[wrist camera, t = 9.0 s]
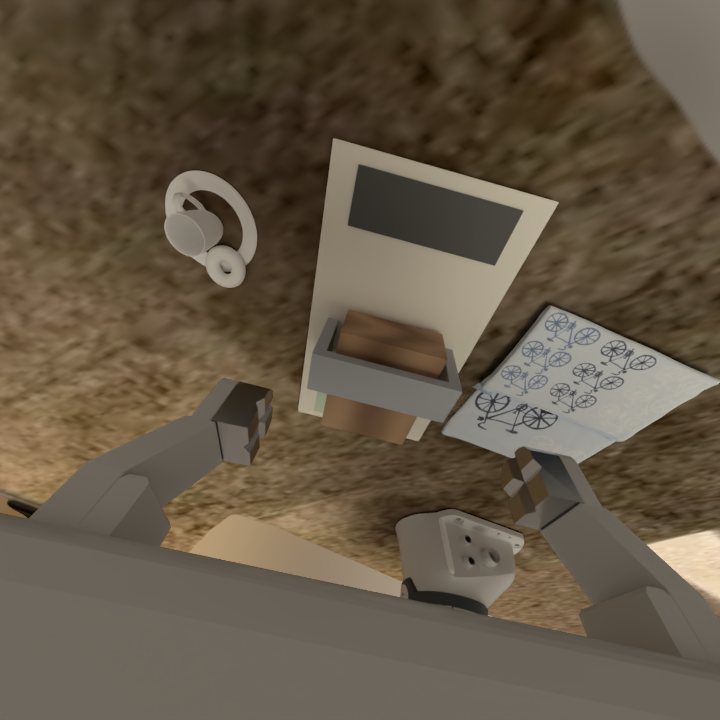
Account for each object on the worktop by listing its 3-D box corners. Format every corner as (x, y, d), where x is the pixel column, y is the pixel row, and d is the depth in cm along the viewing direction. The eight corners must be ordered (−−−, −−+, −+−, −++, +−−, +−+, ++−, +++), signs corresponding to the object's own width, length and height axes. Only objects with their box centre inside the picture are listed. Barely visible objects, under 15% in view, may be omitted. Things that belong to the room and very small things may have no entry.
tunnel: (452, 349, 27) (462, 392, 23) (436, 379, 30) (442, 423, 25) (328, 317, 27) (312, 353, 22) (322, 350, 30) (306, 388, 25)
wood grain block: (442, 334, 26) (447, 360, 23) (402, 417, 33) (402, 445, 30) (348, 309, 26) (340, 332, 23) (328, 398, 33) (320, 425, 30)
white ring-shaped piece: (255, 288, 28) (235, 307, 25) (175, 261, 27) (144, 276, 24) (263, 190, 23) (239, 197, 19) (163, 154, 22) (121, 155, 19)
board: (552, 200, 20) (559, 202, 19) (418, 435, 37) (418, 442, 36) (336, 138, 20) (332, 137, 19) (300, 405, 37) (297, 412, 36)
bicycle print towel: (712, 372, 27) (733, 387, 25) (551, 472, 39) (558, 487, 37) (547, 294, 25) (557, 305, 23) (429, 426, 37) (430, 440, 35)
